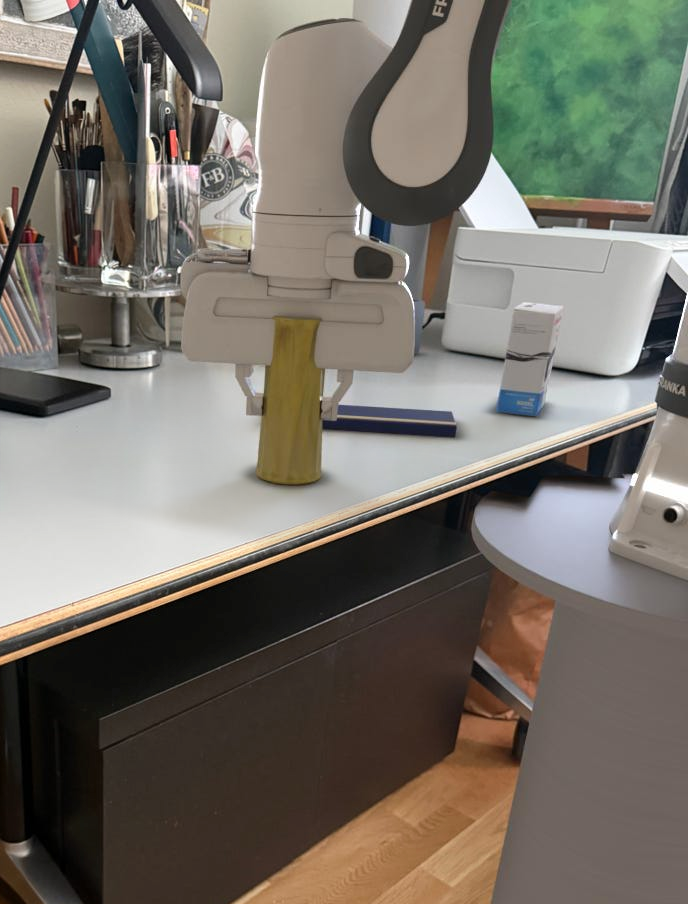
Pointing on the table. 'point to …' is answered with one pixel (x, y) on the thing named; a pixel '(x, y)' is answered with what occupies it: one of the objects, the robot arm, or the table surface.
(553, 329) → the ink box
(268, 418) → the vase
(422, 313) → the ink cartridge
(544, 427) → the table surface
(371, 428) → the navy blue flat box
